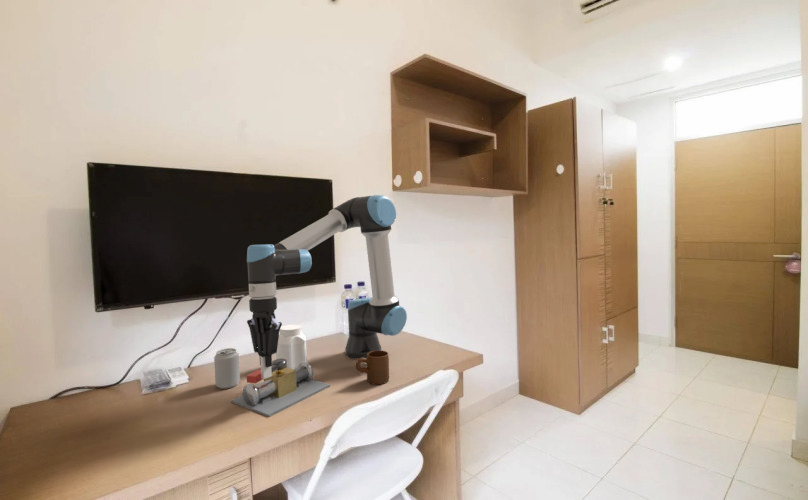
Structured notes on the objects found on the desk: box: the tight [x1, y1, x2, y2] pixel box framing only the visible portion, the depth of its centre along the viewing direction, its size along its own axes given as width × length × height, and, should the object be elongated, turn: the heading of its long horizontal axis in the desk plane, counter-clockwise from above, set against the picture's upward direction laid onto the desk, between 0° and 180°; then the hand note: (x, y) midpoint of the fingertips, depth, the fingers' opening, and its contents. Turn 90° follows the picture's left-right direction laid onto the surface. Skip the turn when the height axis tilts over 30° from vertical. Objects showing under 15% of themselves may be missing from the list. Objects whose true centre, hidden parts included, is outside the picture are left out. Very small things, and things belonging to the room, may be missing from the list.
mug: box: [355, 350, 390, 386], centre depth 129 cm, size 12×8×9 cm, turn 121°
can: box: [213, 348, 241, 390], centre depth 129 cm, size 8×8×12 cm
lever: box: [246, 358, 287, 384], centre depth 117 cm, size 15×4×2 cm, turn 161°
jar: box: [275, 324, 308, 370], centre depth 147 cm, size 12×10×15 cm
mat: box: [230, 378, 331, 418], centre depth 122 cm, size 24×18×1 cm
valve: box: [242, 361, 314, 406], centre depth 122 cm, size 22×7×8 cm, turn 147°
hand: (266, 377), depth 112 cm, fingers closed
